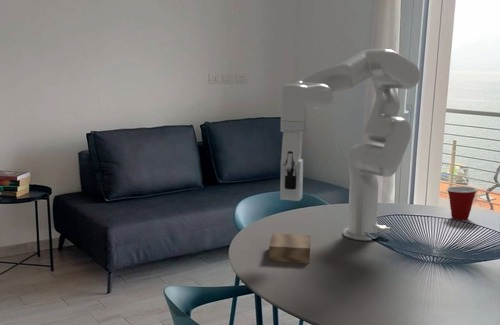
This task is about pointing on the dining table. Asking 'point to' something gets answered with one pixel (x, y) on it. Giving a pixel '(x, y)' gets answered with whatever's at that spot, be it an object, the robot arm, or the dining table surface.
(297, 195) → the skincare box
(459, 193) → the plastic cup
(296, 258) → the tan flat square block
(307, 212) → the dining table surface
